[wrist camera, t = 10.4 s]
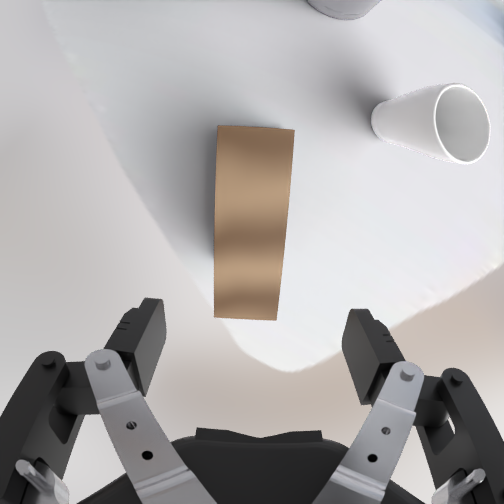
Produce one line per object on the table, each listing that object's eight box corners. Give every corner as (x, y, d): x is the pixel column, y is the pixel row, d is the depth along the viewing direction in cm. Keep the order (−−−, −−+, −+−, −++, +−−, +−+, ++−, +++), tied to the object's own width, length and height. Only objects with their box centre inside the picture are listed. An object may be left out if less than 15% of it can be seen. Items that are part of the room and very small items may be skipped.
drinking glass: (352, 117, 31) (416, 111, 17) (389, 85, 29) (463, 67, 15) (386, 160, 33) (460, 182, 19) (421, 128, 31) (501, 136, 17)
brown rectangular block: (224, 127, 25) (217, 125, 20) (287, 130, 25) (294, 129, 20) (219, 289, 31) (214, 317, 26) (273, 292, 31) (276, 320, 26)
